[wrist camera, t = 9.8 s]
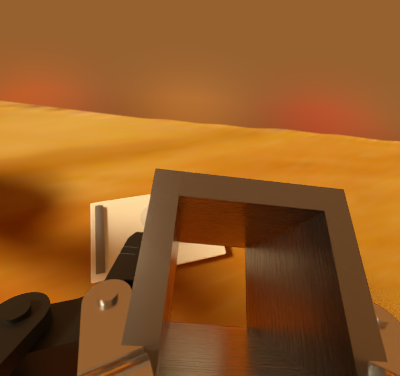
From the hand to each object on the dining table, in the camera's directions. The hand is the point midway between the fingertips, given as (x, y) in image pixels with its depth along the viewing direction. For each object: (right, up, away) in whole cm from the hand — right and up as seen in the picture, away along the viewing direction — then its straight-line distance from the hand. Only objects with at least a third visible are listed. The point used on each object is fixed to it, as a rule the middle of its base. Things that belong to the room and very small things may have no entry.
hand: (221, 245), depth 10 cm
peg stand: (-8, -5, +25) cm, 26 cm away
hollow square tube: (0, -3, +2) cm, 4 cm away
